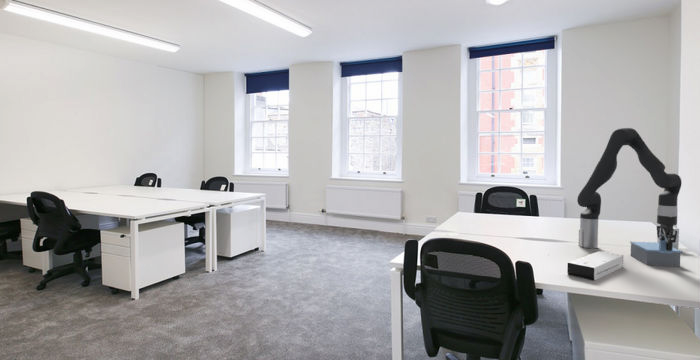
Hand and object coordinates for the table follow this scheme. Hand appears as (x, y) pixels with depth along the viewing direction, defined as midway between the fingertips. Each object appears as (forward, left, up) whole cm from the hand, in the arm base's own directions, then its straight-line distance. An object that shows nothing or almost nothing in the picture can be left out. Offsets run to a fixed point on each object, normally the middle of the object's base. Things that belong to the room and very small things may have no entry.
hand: (665, 248), depth 188 cm
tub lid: (0, +10, -3) cm, 10 cm away
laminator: (-35, -14, -10) cm, 39 cm away
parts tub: (0, +11, -9) cm, 14 cm away
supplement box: (+20, +42, -9) cm, 47 cm away
